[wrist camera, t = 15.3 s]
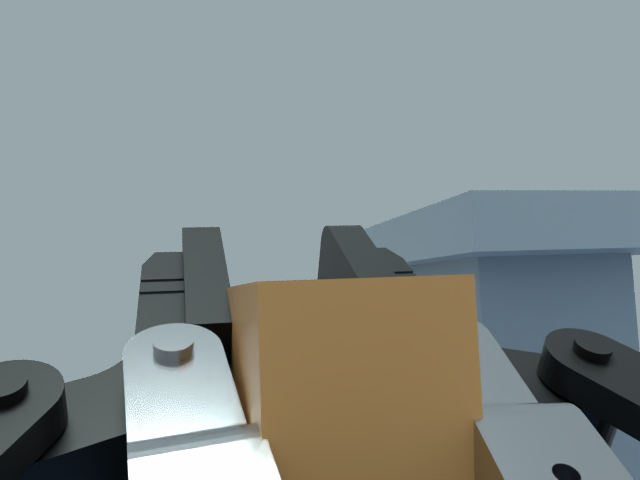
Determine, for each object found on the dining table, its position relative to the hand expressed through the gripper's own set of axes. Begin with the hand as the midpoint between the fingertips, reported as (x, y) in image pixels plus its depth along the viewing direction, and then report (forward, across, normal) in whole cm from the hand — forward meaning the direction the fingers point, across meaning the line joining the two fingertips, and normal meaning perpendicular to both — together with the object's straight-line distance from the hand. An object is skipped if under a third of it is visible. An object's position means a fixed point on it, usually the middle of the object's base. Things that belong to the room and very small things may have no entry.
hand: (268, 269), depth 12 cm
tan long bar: (+4, 0, +6) cm, 7 cm away
